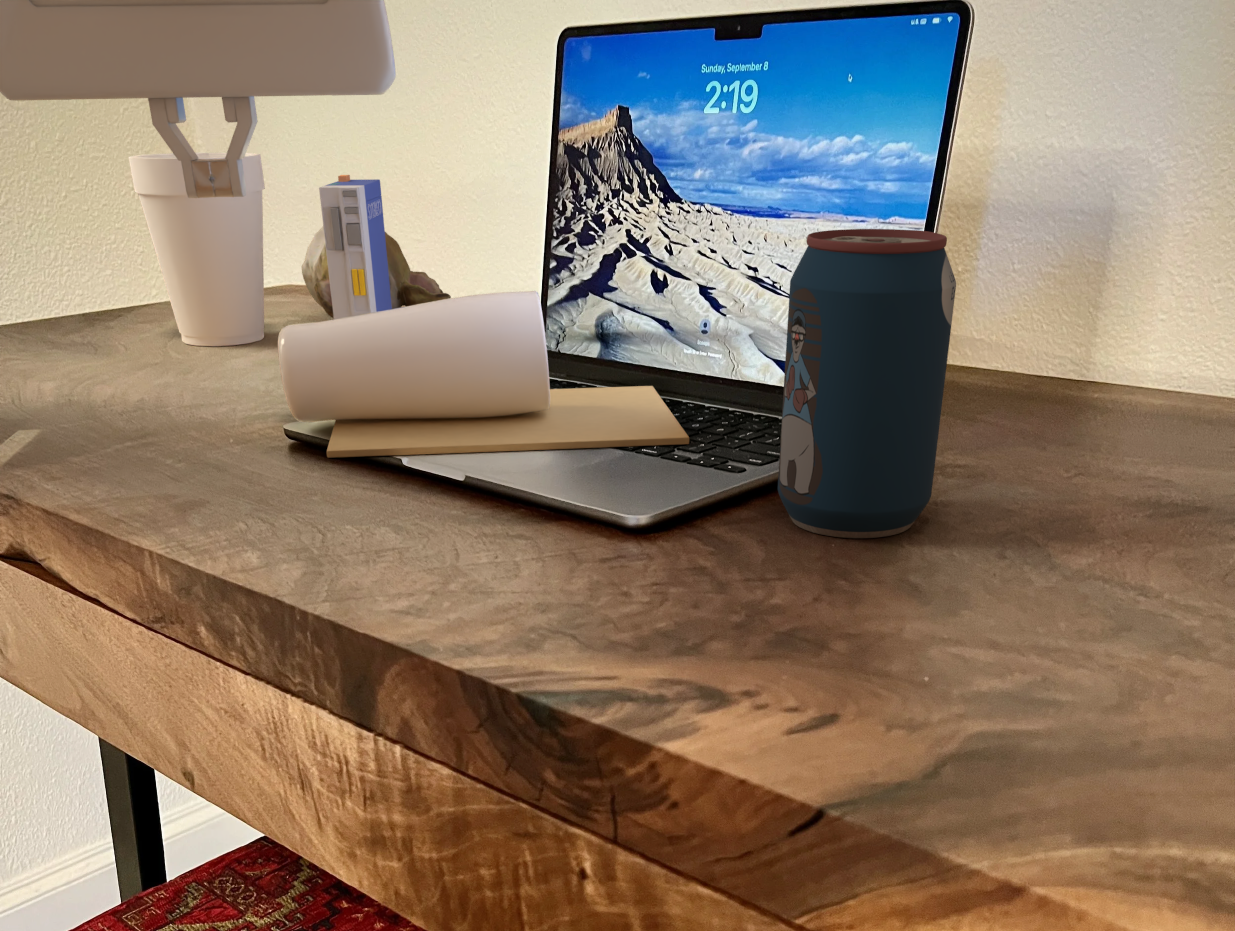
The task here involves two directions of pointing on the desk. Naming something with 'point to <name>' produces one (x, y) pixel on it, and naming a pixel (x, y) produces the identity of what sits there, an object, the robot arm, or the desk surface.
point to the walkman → (355, 246)
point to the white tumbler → (420, 361)
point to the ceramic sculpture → (402, 281)
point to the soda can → (864, 380)
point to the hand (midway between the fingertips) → (217, 196)
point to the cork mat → (522, 427)
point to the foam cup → (206, 249)
